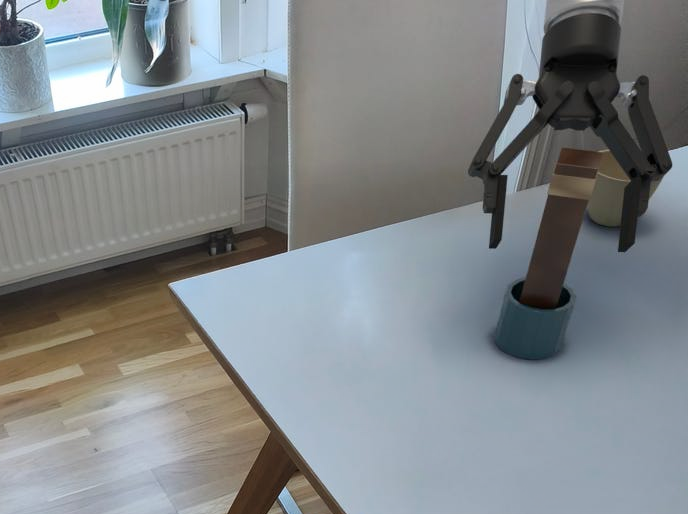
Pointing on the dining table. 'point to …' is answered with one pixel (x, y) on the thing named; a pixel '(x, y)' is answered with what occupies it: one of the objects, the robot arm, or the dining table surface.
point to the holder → (532, 324)
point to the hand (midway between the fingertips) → (560, 246)
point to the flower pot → (610, 191)
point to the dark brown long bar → (560, 226)
